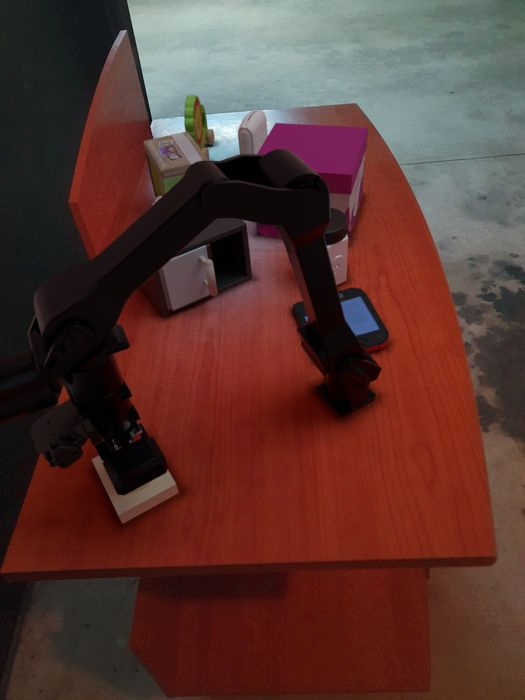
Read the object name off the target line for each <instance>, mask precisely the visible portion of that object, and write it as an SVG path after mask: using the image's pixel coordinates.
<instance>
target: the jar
mask: <svg viewBox="0 0 525 700" xmlns="http://www.w3.org/2000/svg"><path fill="white" fill-rule="evenodd" d="M330 216H331V218H330V221H329V224H328V226H327V228H326V231H325V233H324V236H325V241H326V245H327V249H328V253H329V257H330V261H331V265H332V269H333V273H334V277H335V281H336V285H337V286H339V285H340V284H343V283H345V282H346V281H347V274H348V273H347V270H348V251H349V241H348V236H347V230H348V219H347V216H346V215H345V214H344V213H343V212H342V211H340V210H338V209H335V208H330Z"/></svg>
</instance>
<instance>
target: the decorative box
mask: <svg viewBox="0 0 525 700" xmlns="http://www.w3.org/2000/svg"><path fill="white" fill-rule="evenodd" d="M368 135H369V127H363V126H362V127H359V126H342V125H323V124H322V125H321V124H306V123H304V124H302V123H287V122H275V123H274V125H273V126H272V128H271V130H270V131H269V132H268V136H267V138H266V140H265V141H264V143H263V145H262V146H261V148H260V150H259V151H258V153H257V154H267V153H268V152H270V151H273V150H276V149H287V150H289V151H292V152H293V153H294V154H296V155H297V156H298V157H299V158H300V159H301V160H302V161H303V162H305V163H306V164H307V165H308V166H309V167H310V168H311V169H313V170H314V171H315V172H316V173H317V174H318V175H319V176H320V177H322V178H323V179H324V180H325V182H326V183H327V185H328V188H329V192H330V208H335V209H338V210H340V211H342V212H343V213H344V214H345V215H346V216H347V219H348V230H347V236H348V242H350V238H351V234H352V231H353V228H354V225H355V221H356V218H357V214H358V211H359V207H360V205H361V201H362V198H363V192H364V190H363V189H364V174H365V157H366V151H367V147H368V138H369V137H368ZM255 227H256V229H255V230H256V235H257V236H261V237H271V238H281V239H283V238H282V236H281V234H280V233H279V231H278V230H277V228H276V227H275V225H265V224H260V223H255Z"/></svg>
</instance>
